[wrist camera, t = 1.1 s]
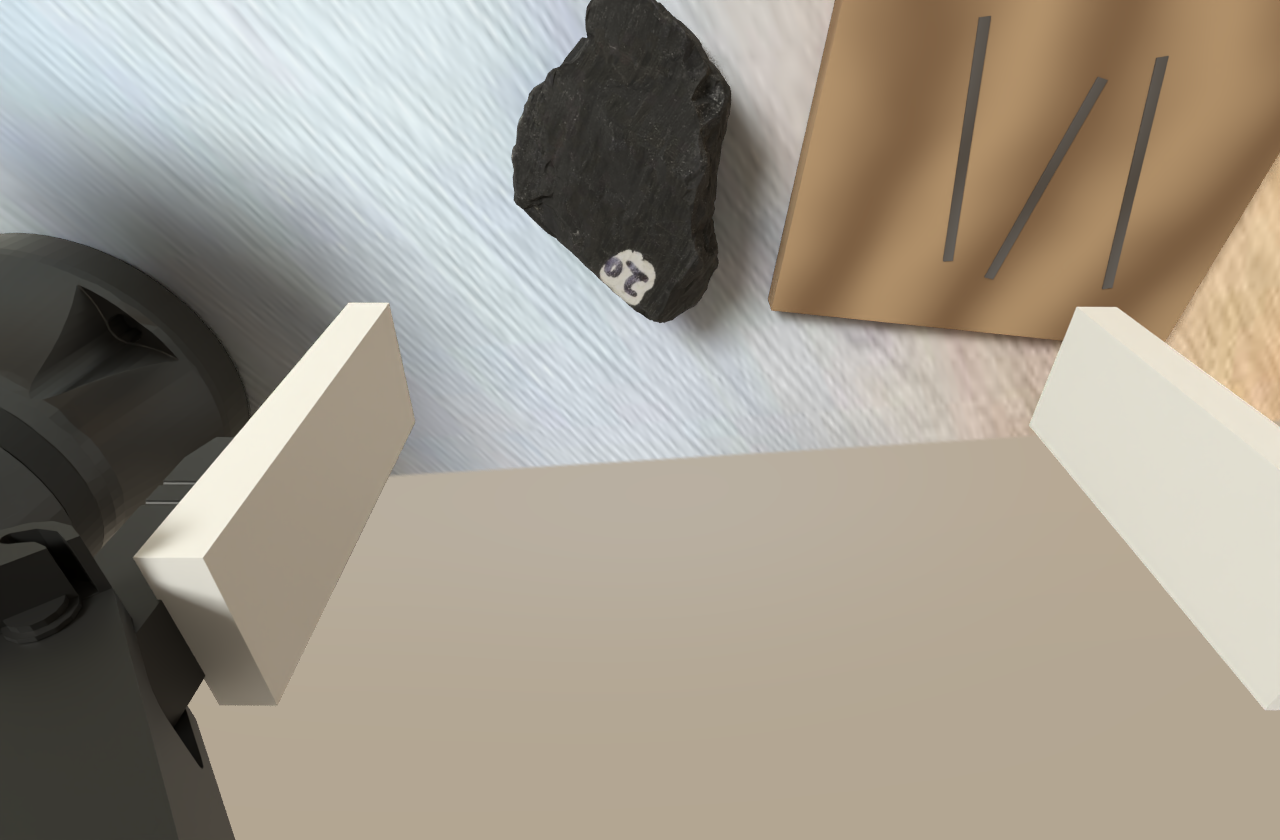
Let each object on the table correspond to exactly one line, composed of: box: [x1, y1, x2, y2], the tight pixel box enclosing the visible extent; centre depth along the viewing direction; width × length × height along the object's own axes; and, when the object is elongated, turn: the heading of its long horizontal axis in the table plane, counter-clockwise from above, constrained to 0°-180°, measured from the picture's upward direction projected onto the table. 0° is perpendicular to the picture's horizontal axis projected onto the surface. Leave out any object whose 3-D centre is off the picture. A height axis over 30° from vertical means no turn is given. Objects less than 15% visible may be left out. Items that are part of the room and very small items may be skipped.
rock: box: [511, 0, 731, 323], centre depth 26 cm, size 9×10×6 cm
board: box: [768, 0, 1280, 342], centre depth 27 cm, size 18×14×1 cm
